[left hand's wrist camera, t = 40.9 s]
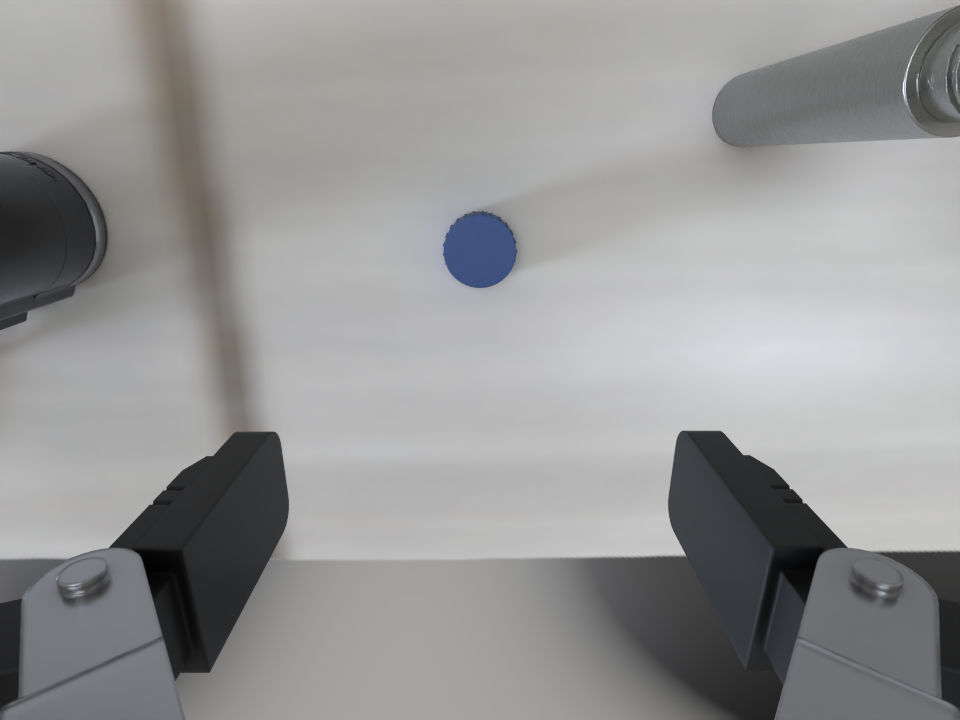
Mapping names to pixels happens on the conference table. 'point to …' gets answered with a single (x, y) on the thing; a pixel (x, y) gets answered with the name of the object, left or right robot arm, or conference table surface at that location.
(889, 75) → the metal bottle
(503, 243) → the lid
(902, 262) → the conference table surface
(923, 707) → the left robot arm
